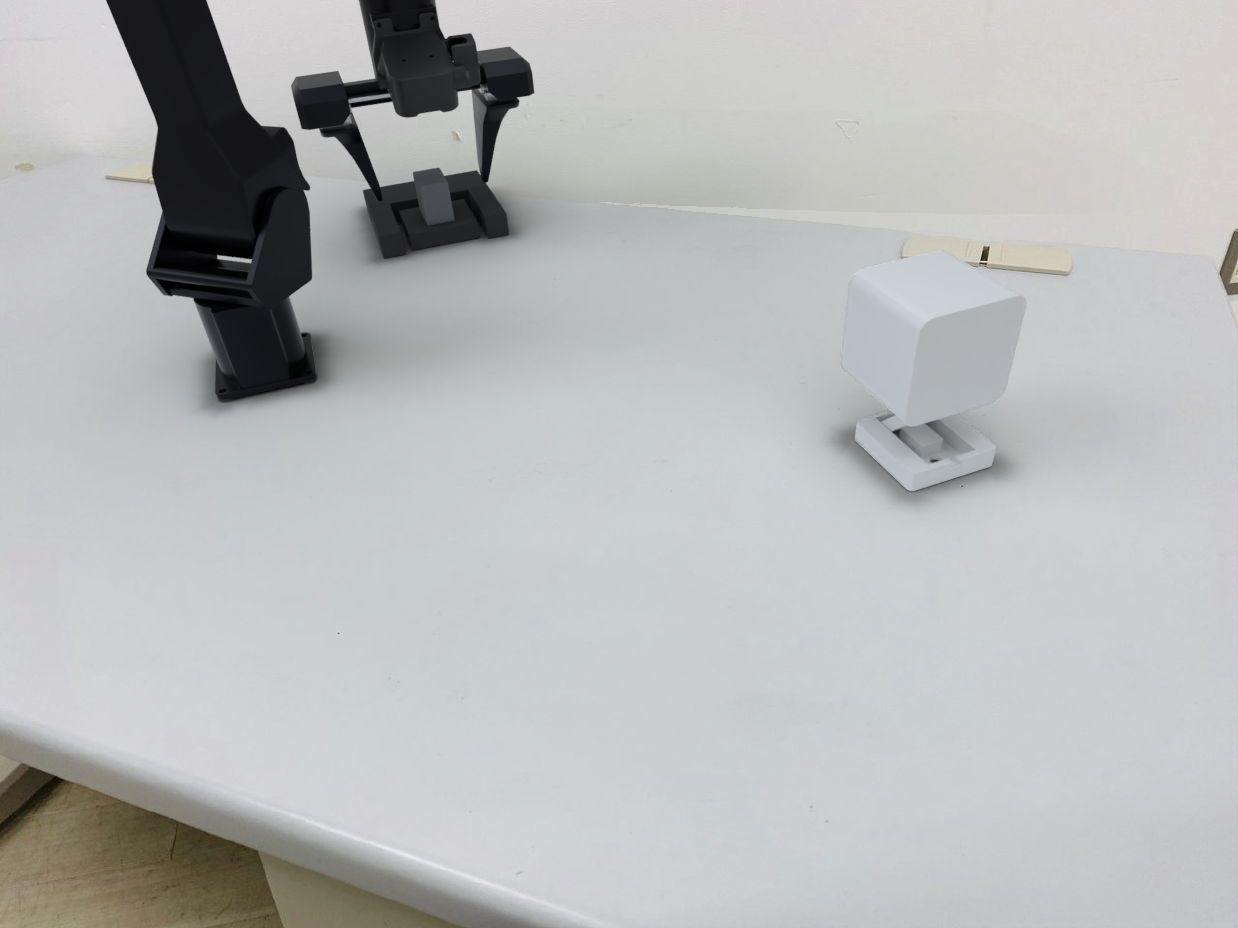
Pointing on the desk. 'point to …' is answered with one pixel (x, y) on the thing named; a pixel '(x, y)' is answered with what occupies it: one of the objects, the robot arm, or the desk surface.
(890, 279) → the security camera
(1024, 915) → the desk surface
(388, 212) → the black flat u-shaped piece
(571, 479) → the desk surface
